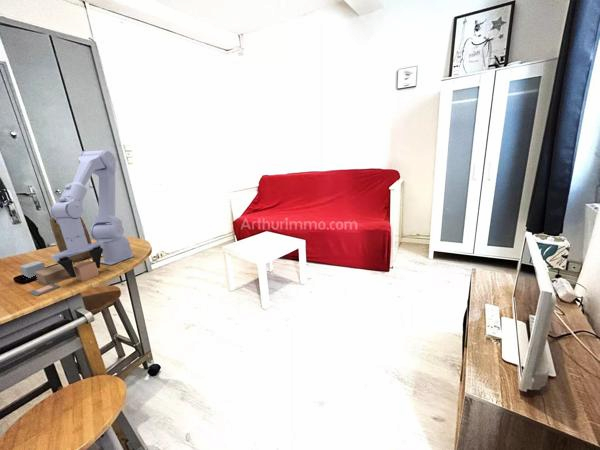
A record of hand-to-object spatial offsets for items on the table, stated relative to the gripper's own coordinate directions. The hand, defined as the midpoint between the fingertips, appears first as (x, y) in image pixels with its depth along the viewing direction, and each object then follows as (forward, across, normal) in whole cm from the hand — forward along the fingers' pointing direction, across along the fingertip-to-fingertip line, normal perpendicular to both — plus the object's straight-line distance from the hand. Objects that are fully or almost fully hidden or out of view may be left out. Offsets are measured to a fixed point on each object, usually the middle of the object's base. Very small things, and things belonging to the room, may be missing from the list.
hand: (86, 272), depth 94 cm
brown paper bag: (+2, +9, +25) cm, 27 cm away
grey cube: (+2, -7, +21) cm, 22 cm away
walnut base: (+2, -5, +10) cm, 11 cm away
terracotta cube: (+2, 0, 0) cm, 2 cm away
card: (+2, -11, +3) cm, 11 cm away
